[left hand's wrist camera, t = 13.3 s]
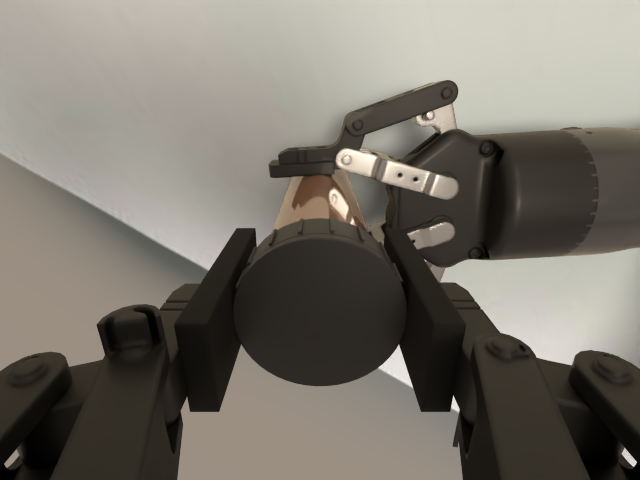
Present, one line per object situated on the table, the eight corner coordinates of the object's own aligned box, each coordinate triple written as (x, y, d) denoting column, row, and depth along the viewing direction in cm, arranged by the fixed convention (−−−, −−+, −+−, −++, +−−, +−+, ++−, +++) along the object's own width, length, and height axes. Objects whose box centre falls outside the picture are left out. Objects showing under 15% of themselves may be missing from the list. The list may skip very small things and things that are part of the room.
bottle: (317, 224, 28) (314, 385, 12) (278, 183, 27) (218, 302, 11) (361, 188, 27) (420, 314, 11) (322, 143, 26) (327, 212, 10)
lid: (429, 293, 12) (446, 323, 11) (315, 375, 14) (314, 413, 12) (326, 181, 11) (327, 196, 9) (210, 286, 12) (192, 315, 10)
